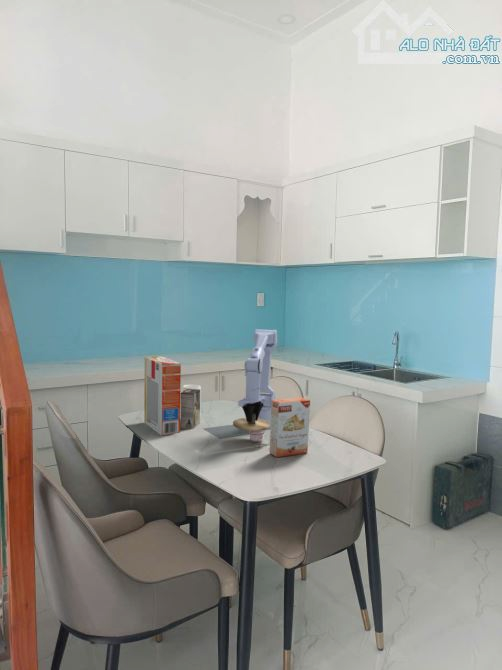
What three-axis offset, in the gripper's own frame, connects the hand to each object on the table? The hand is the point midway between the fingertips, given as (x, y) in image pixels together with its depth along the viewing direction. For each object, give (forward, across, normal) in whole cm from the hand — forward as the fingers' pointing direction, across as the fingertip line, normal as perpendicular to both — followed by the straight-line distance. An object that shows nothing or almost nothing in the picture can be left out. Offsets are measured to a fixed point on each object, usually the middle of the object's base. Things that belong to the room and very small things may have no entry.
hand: (252, 421), depth 207 cm
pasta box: (+9, +14, -41) cm, 44 cm away
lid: (+2, 0, 0) cm, 2 cm away
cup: (+9, -4, -42) cm, 44 cm away
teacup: (+9, -2, +1) cm, 9 cm away
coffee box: (+9, +3, -34) cm, 36 cm away
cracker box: (+9, 0, +19) cm, 21 cm away
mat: (+9, -3, -17) cm, 19 cm away
